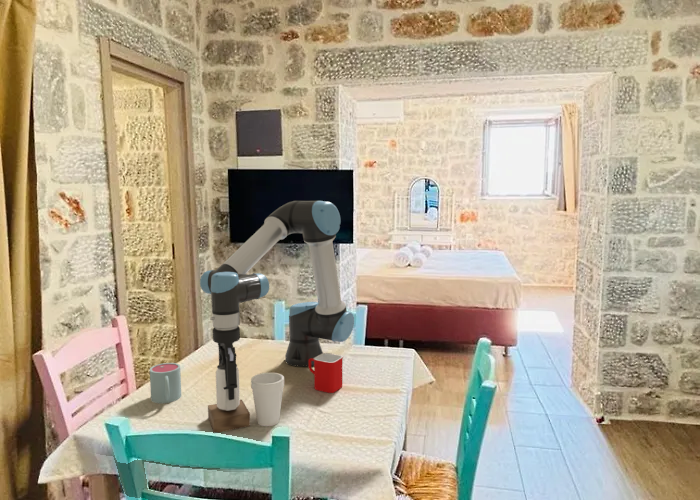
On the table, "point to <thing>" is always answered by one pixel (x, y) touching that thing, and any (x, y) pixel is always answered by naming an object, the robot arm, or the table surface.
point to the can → (220, 387)
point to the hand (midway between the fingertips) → (228, 404)
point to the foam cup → (267, 397)
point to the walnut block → (228, 418)
